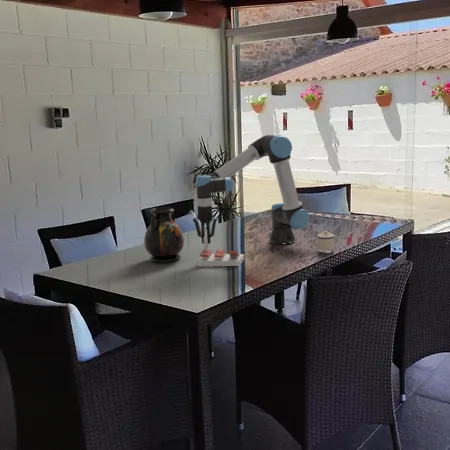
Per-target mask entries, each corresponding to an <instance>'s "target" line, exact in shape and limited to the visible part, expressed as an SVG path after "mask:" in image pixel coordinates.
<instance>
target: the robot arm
mask: <svg viewBox="0 0 450 450" xmlns="http://www.w3.org/2000/svg"><path fill="white" fill-rule="evenodd" d="M292 150H293V144H292V142H291V140H290V139H289V138H288V137H287V136H284V135H282V134H281V135H280V134H278V135H272V134H271V135H270V134H266V135H263V136H261V137H259V138H258V139H256V140H255V141H253V142H252V143H251V144H249V145H247V148H246V149H245V150H243V151H242V152H241V153H239V154H238V155H236V156H234V158H232V159H231V160H229V161H228V162H226V163H225V164H223V165H222V166H220V167H219V168H217V169H216V170H214V171H213V172H211V173H210V174H206V175H198V176H197V177H196V181H195V183H196V184H195V186H196V201H197V202H196V204H197V216H196V217H194V218H193V219H192V222H193V223H194V225H195V230H196V234H197V236H198V237H200V238H201V244H203V250H210V244H211V243H212V241H211V238H212V237H214V236H215V229H216V225H217V222H218V218H217V217H215V216H214V215H213V206H212V205H213V201H212V195H213V194H217V193H227V192H230V191H233V187H234V186H233V185H234V184H233V180H232V179H231V177H233V176H234V175H236V174H238V173H239V172H240V171H241V170H242V169H245V167H246V166H248V165H251V163H252V162H254V161H259V160H260V159H263V158H265V157H268V160H269V162H270V163H271V164H272V166H273V168H274V170H275V171H274V172H275V174H276V179H277V183H278V187H279V190H280V195H281V199H282V202H281V203H280V202H279V203H275V204H272V205H271V210H270V211H271V232H270V235H269V243H270V244H272V243H274V245H284V244H283V243H289V242H293V241H295V242H296V235H295V232H294V230H293V229H295V230H301V229H304V228H305V227H306V226H307V225H308V223H309V220H310V213H309V212H308V210H307V209H304V205H303V202H302V201H300V199H299V196H298V192H297V188H296V184H295V181H294V176H293V173H292V168H291V164H290V160H291V158H292V157H291V153H292ZM211 221H212V225H211ZM199 222H200V223H199ZM205 225H206V227H205ZM200 226H201V227H200ZM205 230H206V232H205ZM205 233H206V234H205Z"/></svg>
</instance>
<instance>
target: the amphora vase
mask: <svg viewBox="0 0 450 450" xmlns="http://www.w3.org/2000/svg"><path fill="white" fill-rule="evenodd" d="M174 211H175V209H174V208H172V207H166V206H165V207H156V208H151V209H150V210H149V212H150V214H152V215H153V216H152V217H151V219H150V225H149V226H148V227H147V229H146V231H145V235H144V238H143V239H144V240H143V242H144V243H143V244H144V248H145V251H146V252H147V253H148V254H149V255H150V257H149V260H150V261H151V262H153V263H154V262H155V264H171V263H175V262H177V261H180V259H181V254H179V253H181V252H182V250H183V248H184V245H185V237H184V233H183V231H182V229H181V227H180V226H179V225H178V224H177V223H176V219H175V215H174Z"/></svg>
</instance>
